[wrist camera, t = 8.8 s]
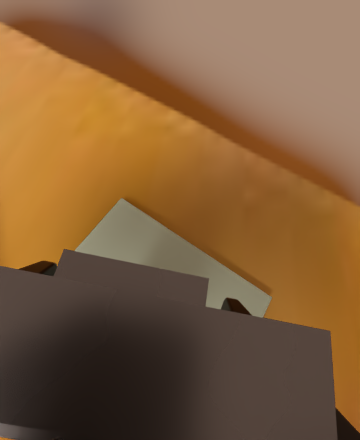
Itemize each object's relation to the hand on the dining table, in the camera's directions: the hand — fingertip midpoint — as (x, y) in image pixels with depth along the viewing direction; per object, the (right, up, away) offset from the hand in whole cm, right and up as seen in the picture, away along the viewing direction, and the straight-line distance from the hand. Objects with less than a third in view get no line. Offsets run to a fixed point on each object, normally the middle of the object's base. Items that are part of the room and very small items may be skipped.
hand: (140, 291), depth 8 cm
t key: (-1, -4, +6) cm, 7 cm away
